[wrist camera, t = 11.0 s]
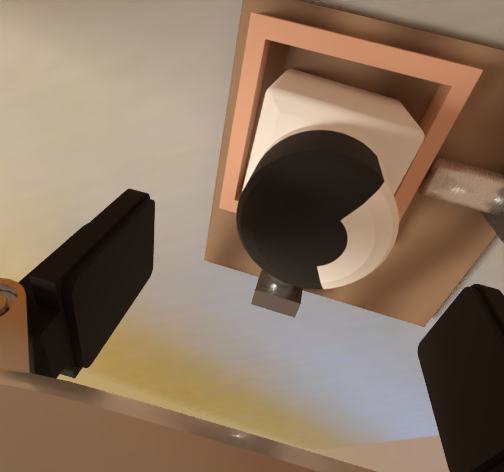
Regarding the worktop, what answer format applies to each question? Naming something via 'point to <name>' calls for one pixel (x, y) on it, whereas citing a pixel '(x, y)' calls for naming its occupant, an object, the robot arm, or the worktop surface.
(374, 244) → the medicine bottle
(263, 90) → the square clamping fixture
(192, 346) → the worktop surface
